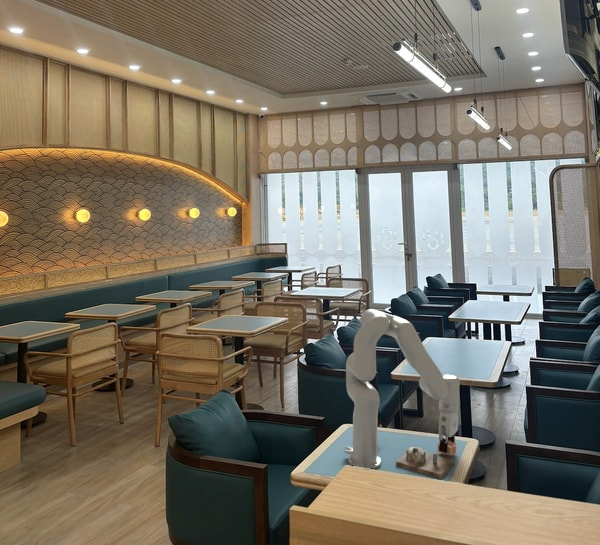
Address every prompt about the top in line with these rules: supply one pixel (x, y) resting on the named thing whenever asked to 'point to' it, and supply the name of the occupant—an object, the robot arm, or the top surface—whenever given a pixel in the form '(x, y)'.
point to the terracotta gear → (449, 448)
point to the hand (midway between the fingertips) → (446, 448)
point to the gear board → (425, 462)
